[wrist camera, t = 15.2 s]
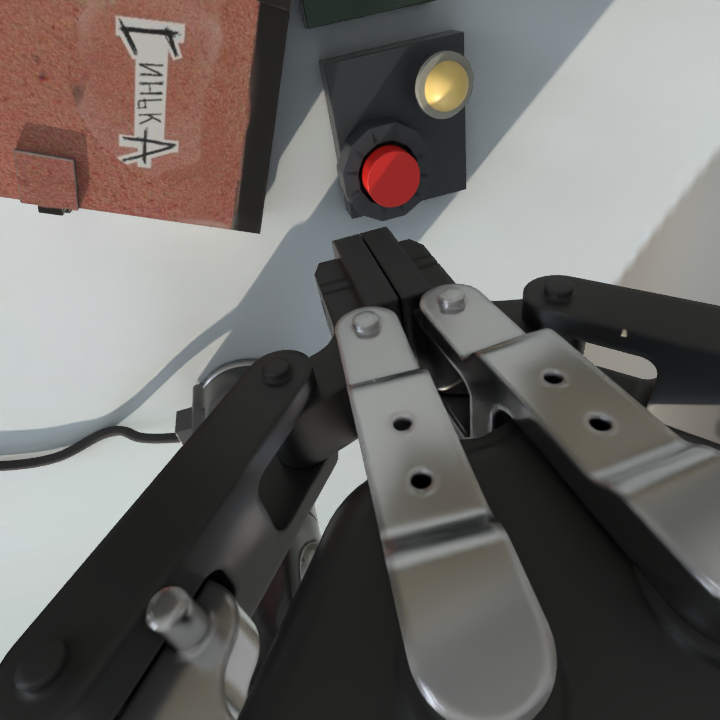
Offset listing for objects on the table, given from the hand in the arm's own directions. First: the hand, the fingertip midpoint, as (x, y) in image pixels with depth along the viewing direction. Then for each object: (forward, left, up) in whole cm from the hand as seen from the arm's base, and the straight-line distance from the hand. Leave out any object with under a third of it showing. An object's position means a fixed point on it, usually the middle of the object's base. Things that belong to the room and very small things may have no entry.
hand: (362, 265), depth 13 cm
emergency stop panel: (+9, -4, -27) cm, 29 cm away
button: (+7, -6, -23) cm, 25 cm away
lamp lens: (+12, -1, -23) cm, 26 cm away
